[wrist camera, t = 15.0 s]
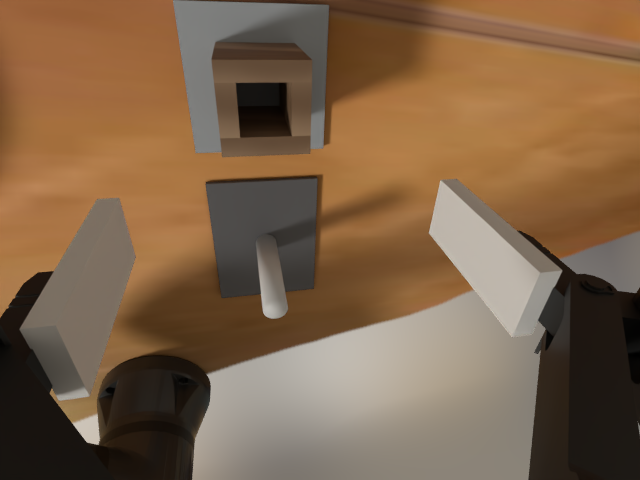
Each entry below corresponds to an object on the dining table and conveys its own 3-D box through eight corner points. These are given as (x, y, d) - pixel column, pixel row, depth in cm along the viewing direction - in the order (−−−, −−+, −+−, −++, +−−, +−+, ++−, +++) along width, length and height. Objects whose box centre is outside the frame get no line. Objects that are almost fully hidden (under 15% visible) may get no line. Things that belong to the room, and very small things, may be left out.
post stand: (313, 286, 52) (332, 356, 42) (221, 295, 50) (220, 372, 40) (316, 176, 43) (342, 234, 34) (205, 182, 41) (198, 245, 32)
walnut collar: (295, 120, 39) (310, 153, 32) (223, 122, 38) (222, 157, 30) (294, 43, 35) (312, 60, 28) (215, 42, 34) (211, 59, 26)
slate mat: (322, 146, 42) (323, 148, 41) (196, 150, 39) (195, 152, 39) (327, 4, 34) (329, 5, 34) (173, 0, 32) (173, 0, 32)
